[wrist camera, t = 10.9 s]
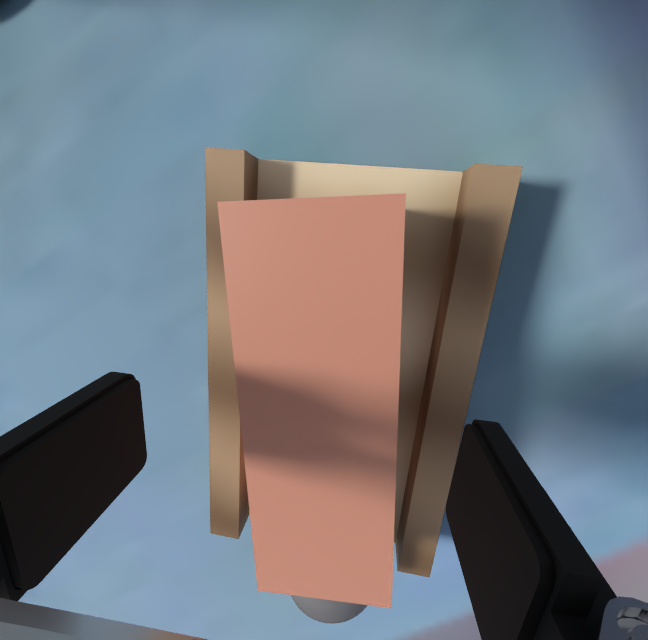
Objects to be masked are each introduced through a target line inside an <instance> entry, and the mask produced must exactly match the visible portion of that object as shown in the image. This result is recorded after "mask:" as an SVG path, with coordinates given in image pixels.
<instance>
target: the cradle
mask: <svg viewBox="0 0 648 640" xmlns="http://www.w3.org/2000/svg"><path fill="white" fill-rule="evenodd" d="M522 168H523V167H522V166H505V165H488V164H474V165H473V166H471V167H470V168H468V169H467V170H465V171H464V172H457V171H441V170H425V169H409V168H394V167H378V166H362V165H346V164H330V163H314V162H298V161H282V160H266V159H258V158H256V157H254V156H253V155H251V154H250V153H248V152H247V151H245V150H237V149H221V148H205V176H206V246H207V316H208V387H209V457H210V527H211V534H216V535H221V536H226V537H231V538H236V539H239V537H240V534H241V532H242V530H243V527H244V525H245V523H246V521H247V518H248V516H249V515H250V510H249V500H248V491H247V481H246V472H245V462H244V453H243V443H242V434H241V424H240V414H239V405H238V395H237V386H236V376H235V367H234V357H233V348H232V338H231V328H230V319H229V309H228V300H227V290H226V281H225V271H224V262H223V252H222V242H221V233H220V223H219V214H218V204H217V202H223V201H246V200H268V199H290V198H313V197H335V196H357V195H380V194H402V193H406V204H405V233H404V262H403V291H402V320H401V349H400V378H399V407H398V436H397V464H396V493H395V522H394V542H395V544H396V557H397V570H398V571H400V572H405V573H410V574H415V575H420V576H425V577H430V573H431V569H432V564H433V560H434V555H435V551H436V547H437V542H438V538H439V533H440V529H441V524H442V520H443V516H444V511H445V507H446V502H447V498H448V494H449V489H450V485H451V480H452V476H453V472H454V467H455V463H456V458H457V454H458V450H459V445H460V441H461V436H462V432H463V428H464V423H465V419H466V414H467V410H468V406H469V401H470V397H471V392H472V388H473V384H474V379H475V375H476V370H477V366H478V362H479V357H480V353H481V348H482V344H483V340H484V335H485V331H486V326H487V322H488V318H489V313H490V309H491V304H492V300H493V296H494V291H495V287H496V282H497V278H498V274H499V269H500V265H501V260H502V256H503V252H504V247H505V243H506V238H507V234H508V230H509V225H510V221H511V216H512V212H513V208H514V203H515V199H516V194H517V190H518V186H519V181H520V177H521V172H522Z"/></svg>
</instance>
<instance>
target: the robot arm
mask: <svg viewBox="0 0 648 640" xmlns="http://www.w3.org/2000/svg"><path fill="white" fill-rule="evenodd" d="M146 459H147V451H146V441H145V431H144V421H143V411H142V401H141V391H140V383H139V382H138V381H137V380H136V379H135V377H134V376H133V375H132V374H126V373H119V372H109V373H107V374H106V375H104V376H102V377H100V378H99V379H97V380H95V381H94V382H92V383H90V384H89V385H87V386H85V387H83V388H82V389H80V390H78V391H77V392H75V393H73V394H72V395H70V396H68V397H66V398H65V399H63V400H61V401H60V402H58V403H56V404H55V405H53V406H51V407H50V408H48V409H46V410H44V411H43V412H41V413H39V414H38V415H36V416H34V417H33V418H31V419H29V420H27V421H26V422H24V423H22V424H21V425H19V426H17V427H16V428H14V429H12V430H11V431H9V432H7V433H5V434H4V435H2V436H0V640H207V639H202V638H197V637H192V636H188V635H183V634H178V633H173V632H168V631H163V630H158V629H153V628H148V627H143V626H138V625H133V624H128V623H124V622H119V621H114V620H109V619H104V618H99V617H94V616H89V615H84V614H79V613H74V612H69V611H63V610H58V609H53V608H48V607H43V606H38V605H33V604H28V603H23V602H18V600H19V599H20V598H21V597H22V596H23V595H24V594H25V593H26V592H27V590H29V589H32V588H34V587H35V586H37V585H38V584H39V583H40V582H41V581H42V580H43V579H44V578H45V577H46V575H47V574H48V573H49V572H50V571H51V570H52V569H53V568H54V567H55V565H56V564H57V563H58V562H59V561H60V560H61V559H62V558H63V557H64V555H65V554H66V553H67V552H68V551H69V550H70V549H71V548H72V547H73V545H74V544H75V543H76V542H77V541H78V540H79V539H80V538H81V536H82V535H83V534H84V533H85V532H86V531H87V530H88V529H89V528H90V526H91V525H92V524H93V523H94V522H95V521H96V520H97V519H98V518H99V516H100V515H101V514H102V513H103V512H104V511H105V510H106V509H107V508H108V506H109V505H110V504H111V503H112V502H113V501H114V500H115V499H116V498H117V496H118V495H119V494H120V493H121V492H122V491H123V490H124V489H125V487H126V486H127V485H128V484H129V483H130V482H131V481H132V480H133V479H134V477H135V476H136V475H137V474H138V473H139V472H140V471H141V470H142V468H143V467H144V465H145V462H146ZM446 514H447V519H448V523H449V526H450V530H451V533H452V537H453V540H454V544H455V547H456V551H457V554H458V558H459V561H460V565H461V568H462V572H463V575H464V579H465V583H466V586H467V590H468V593H469V597H470V600H471V604H472V607H473V611H474V614H475V618H476V621H477V625H478V628H479V632H480V635H481V639H482V640H648V603H646V602H643V601H640V600H637V599H635V598H629V597H617V596H616V595H615V593H614V592H613V590H612V589H611V587H610V586H609V584H608V583H607V581H606V580H605V578H604V577H603V576H602V574H601V573H600V571H599V570H598V568H597V567H596V565H595V564H594V562H593V561H592V559H591V558H590V556H589V555H588V553H587V552H586V550H585V549H584V547H583V546H582V544H581V543H580V542H579V540H578V539H577V537H576V536H575V534H574V533H573V531H572V530H571V528H570V527H569V525H568V524H567V522H566V521H565V519H564V518H563V516H562V515H561V513H560V512H559V511H558V509H557V508H556V506H555V505H554V503H553V502H552V500H551V499H550V497H549V496H548V494H547V493H546V491H545V490H544V488H543V487H542V486H541V484H540V483H539V481H538V480H537V478H536V477H535V475H534V474H533V473H532V471H531V470H530V468H529V467H528V465H527V464H526V462H525V461H524V459H523V458H522V456H521V455H520V453H519V452H518V450H517V449H516V447H515V446H514V444H513V443H512V441H511V440H510V439H509V437H508V436H507V434H506V433H505V431H504V430H503V428H502V427H501V425H500V424H499V423H497V422H490V421H483V420H474V421H473V422H472V425H471V424H467V425H466V426H465V428H464V432H463V436H462V440H461V444H460V448H459V453H458V457H457V461H456V465H455V469H454V473H453V477H452V481H451V486H450V490H449V494H448V498H447V503H446Z"/></svg>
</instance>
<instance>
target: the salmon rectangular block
mask: <svg viewBox="0 0 648 640" xmlns="http://www.w3.org/2000/svg"><path fill="white" fill-rule="evenodd" d="M217 204H218V214H219V223H220V233H221V242H222V252H223V262H224V271H225V281H226V290H227V300H228V309H229V319H230V328H231V338H232V348H233V357H234V367H235V376H236V386H237V395H238V405H239V414H240V424H241V434H242V443H243V453H244V462H245V472H246V481H247V491H248V500H249V510H250V520H251V529H252V539H253V548H254V558H255V567H256V577H257V586H258V591H265V592H273V593H280V594H288V595H291V596H292V598H293V600H294V602H295V603H296V605H297V606H298V608H299V609H300V610H301V611H302V612H303V613H305V614H306V615H307V616H309V617H310V618H312V619H314V620H317V621H319V622H324V623H341V622H345V621H348V620H350V619H352V618H354V617H355V616H357V615H358V614H360V613H361V612H362V611H363V610H364V609H365V608H366V606H367V605H371V606H378V607H386V608H392V580H393V551H394V522H395V493H396V464H397V436H398V407H399V378H400V349H401V320H402V291H403V262H404V233H405V204H406V193H402V194H380V195H357V196H335V197H313V198H290V199H268V200H246V201H223V202H217Z"/></svg>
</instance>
